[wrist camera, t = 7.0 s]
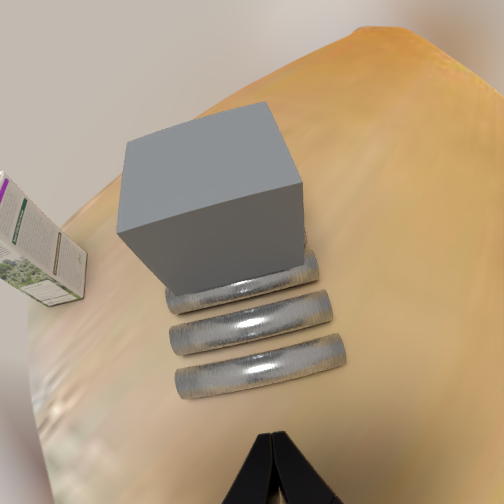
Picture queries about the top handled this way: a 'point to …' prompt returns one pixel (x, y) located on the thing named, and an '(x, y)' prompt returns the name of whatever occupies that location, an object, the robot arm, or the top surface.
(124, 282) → the top surface
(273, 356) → the roller track
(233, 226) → the grey block
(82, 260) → the syrup box
